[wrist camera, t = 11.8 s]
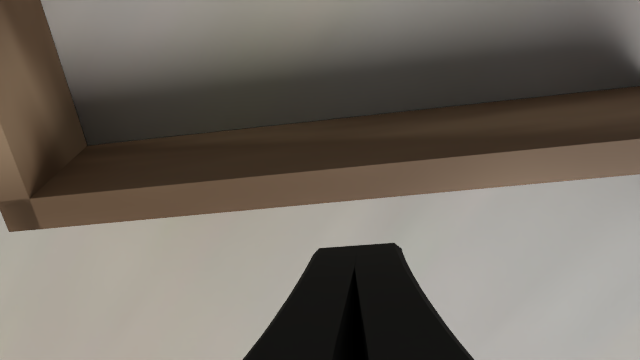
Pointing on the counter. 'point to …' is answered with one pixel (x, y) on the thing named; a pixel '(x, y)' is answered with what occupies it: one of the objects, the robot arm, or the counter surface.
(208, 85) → the counter surface
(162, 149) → the wooden tray
